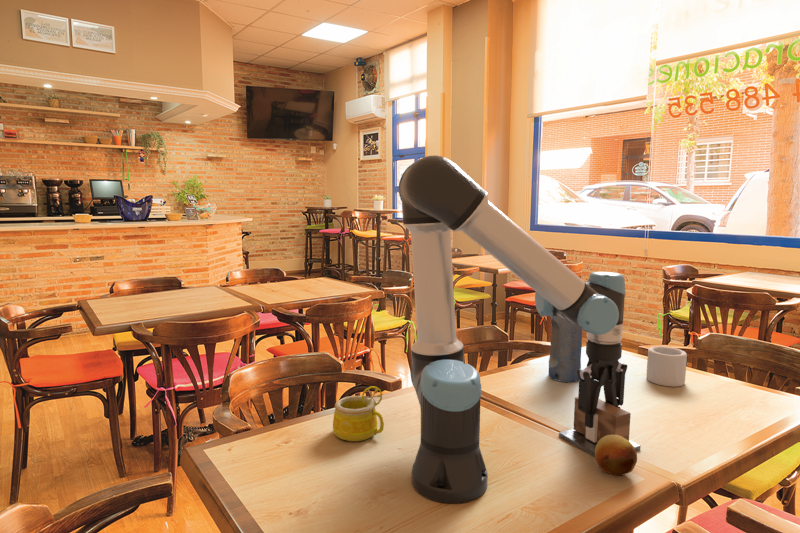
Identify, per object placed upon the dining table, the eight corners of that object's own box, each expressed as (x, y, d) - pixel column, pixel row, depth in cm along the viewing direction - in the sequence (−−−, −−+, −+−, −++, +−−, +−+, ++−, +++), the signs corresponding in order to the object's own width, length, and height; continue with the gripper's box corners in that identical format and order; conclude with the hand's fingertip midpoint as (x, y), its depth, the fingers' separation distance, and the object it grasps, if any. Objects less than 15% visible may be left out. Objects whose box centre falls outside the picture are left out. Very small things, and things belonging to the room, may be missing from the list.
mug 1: (324, 440, 117) (323, 391, 116) (345, 421, 127) (344, 376, 126) (374, 449, 113) (374, 399, 111) (391, 429, 123) (391, 382, 121)
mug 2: (692, 387, 151) (694, 355, 150) (656, 387, 151) (658, 355, 150) (668, 372, 165) (670, 343, 163) (636, 372, 165) (637, 343, 164)
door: (628, 447, 111) (630, 413, 110) (614, 451, 109) (616, 416, 108) (587, 425, 122) (588, 394, 121) (573, 429, 120) (574, 397, 119)
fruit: (644, 479, 100) (646, 442, 99) (610, 486, 98) (612, 448, 97) (618, 461, 108) (620, 426, 107) (585, 467, 105) (587, 431, 104)
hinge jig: (601, 461, 108) (602, 446, 107) (558, 436, 119) (559, 422, 119) (640, 449, 113) (641, 435, 112) (595, 426, 124) (596, 413, 124)
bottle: (543, 373, 164) (547, 283, 160) (572, 371, 165) (576, 282, 161) (555, 383, 155) (559, 288, 151) (585, 382, 156) (590, 287, 152)
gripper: (588, 349, 106) (583, 452, 109) (645, 339, 113) (639, 436, 116) (562, 340, 112) (559, 438, 115) (618, 331, 120) (613, 423, 123)
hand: (599, 437), depth 116 cm, fingers closed on door, 4 cm apart
